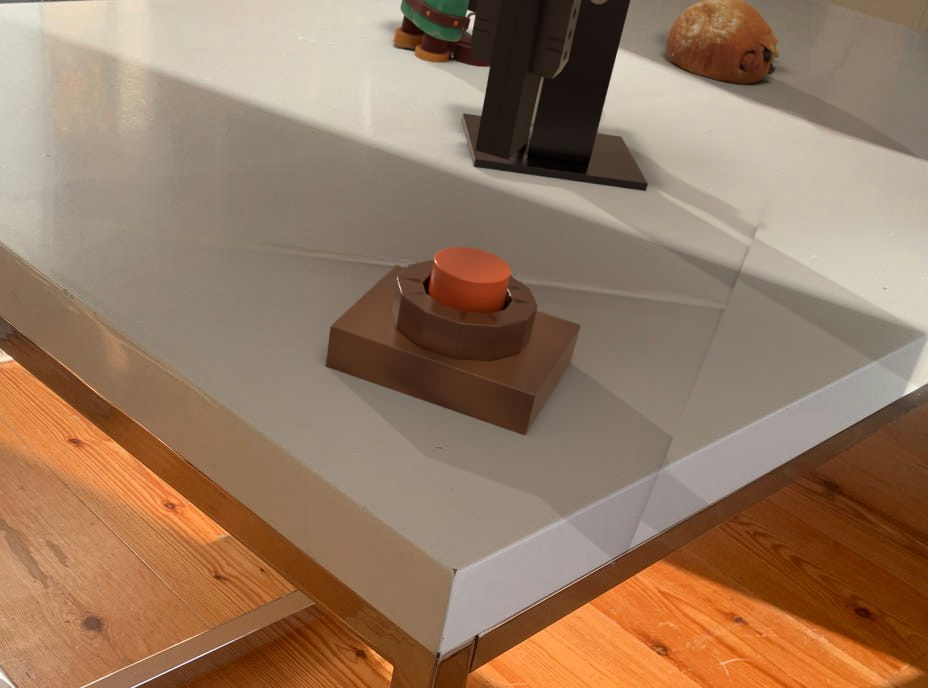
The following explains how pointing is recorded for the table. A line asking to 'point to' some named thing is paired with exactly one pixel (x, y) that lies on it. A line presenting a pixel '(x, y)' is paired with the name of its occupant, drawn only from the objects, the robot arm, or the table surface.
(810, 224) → the table surface
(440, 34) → the binoculars
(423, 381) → the button block
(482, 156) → the bracket
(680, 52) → the bread roll
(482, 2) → the robot arm
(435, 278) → the button
